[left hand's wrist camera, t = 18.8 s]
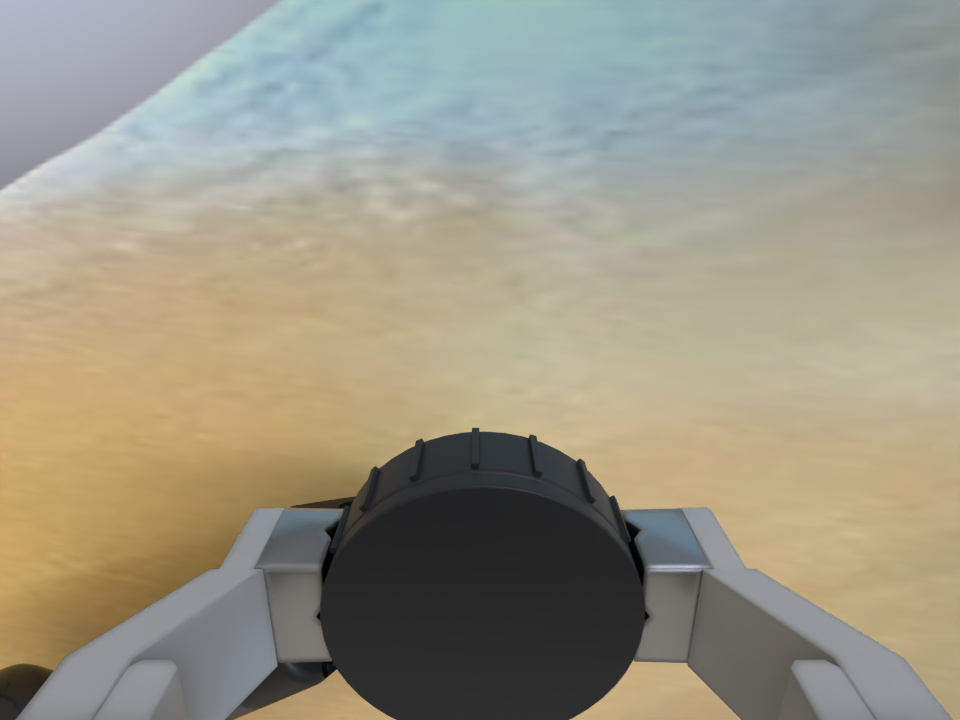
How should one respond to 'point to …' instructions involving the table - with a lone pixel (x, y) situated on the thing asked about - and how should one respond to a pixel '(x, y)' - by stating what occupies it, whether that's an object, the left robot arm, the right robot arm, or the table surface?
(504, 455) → the lid
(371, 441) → the table surface
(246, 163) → the table surface
